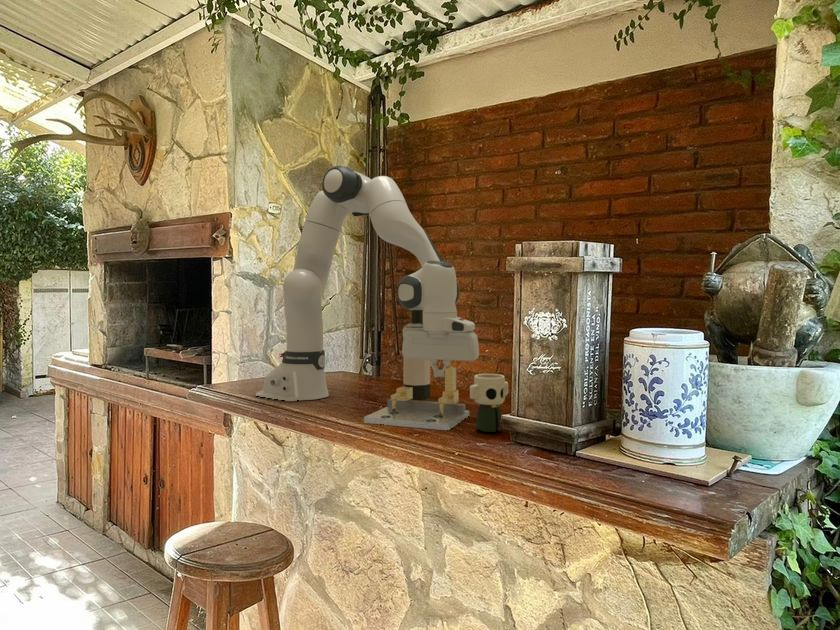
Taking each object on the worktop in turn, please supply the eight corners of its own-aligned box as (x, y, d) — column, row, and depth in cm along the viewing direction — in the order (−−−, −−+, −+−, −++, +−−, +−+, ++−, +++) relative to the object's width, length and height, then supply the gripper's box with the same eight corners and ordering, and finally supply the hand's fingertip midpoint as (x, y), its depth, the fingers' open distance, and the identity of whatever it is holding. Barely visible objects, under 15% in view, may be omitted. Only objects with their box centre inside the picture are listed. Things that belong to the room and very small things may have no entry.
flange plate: (364, 423, 149) (363, 395, 149) (391, 410, 165) (391, 385, 164) (448, 430, 141) (448, 401, 141) (469, 416, 157) (469, 390, 156)
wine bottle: (435, 397, 184) (435, 299, 182) (413, 400, 179) (412, 299, 178) (420, 393, 190) (420, 298, 189) (398, 396, 186) (397, 298, 184)
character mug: (479, 437, 135) (479, 379, 134) (461, 430, 141) (461, 375, 140) (517, 431, 140) (517, 375, 140) (498, 425, 146) (498, 372, 146)
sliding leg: (435, 414, 149) (435, 371, 148) (447, 407, 158) (447, 366, 157) (446, 415, 148) (446, 372, 147) (458, 408, 157) (458, 367, 156)
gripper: (397, 323, 156) (398, 376, 157) (474, 325, 149) (474, 380, 150) (407, 322, 162) (407, 373, 163) (480, 323, 155) (480, 377, 155)
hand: (440, 377), depth 156 cm, fingers closed
